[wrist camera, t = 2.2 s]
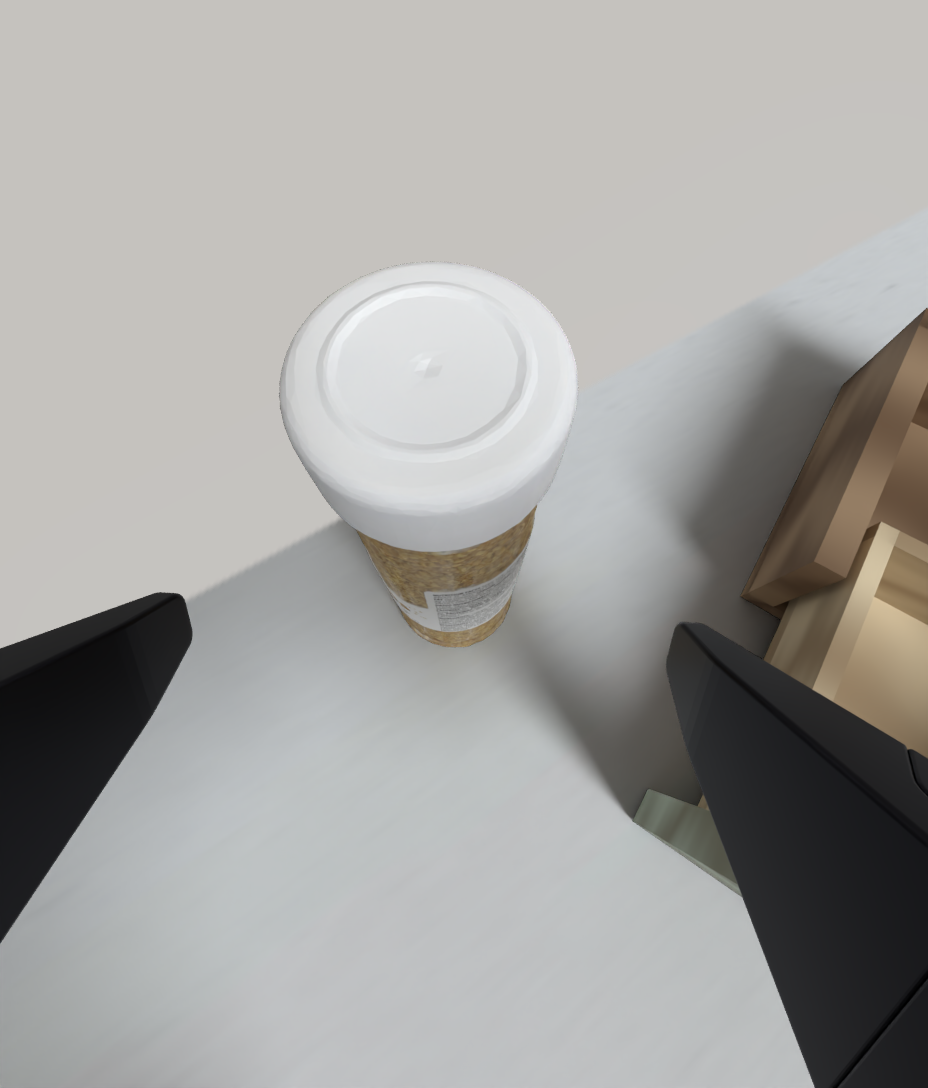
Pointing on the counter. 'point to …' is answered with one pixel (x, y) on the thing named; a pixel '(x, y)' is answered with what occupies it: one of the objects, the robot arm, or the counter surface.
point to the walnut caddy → (854, 476)
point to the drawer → (836, 671)
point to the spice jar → (434, 431)
